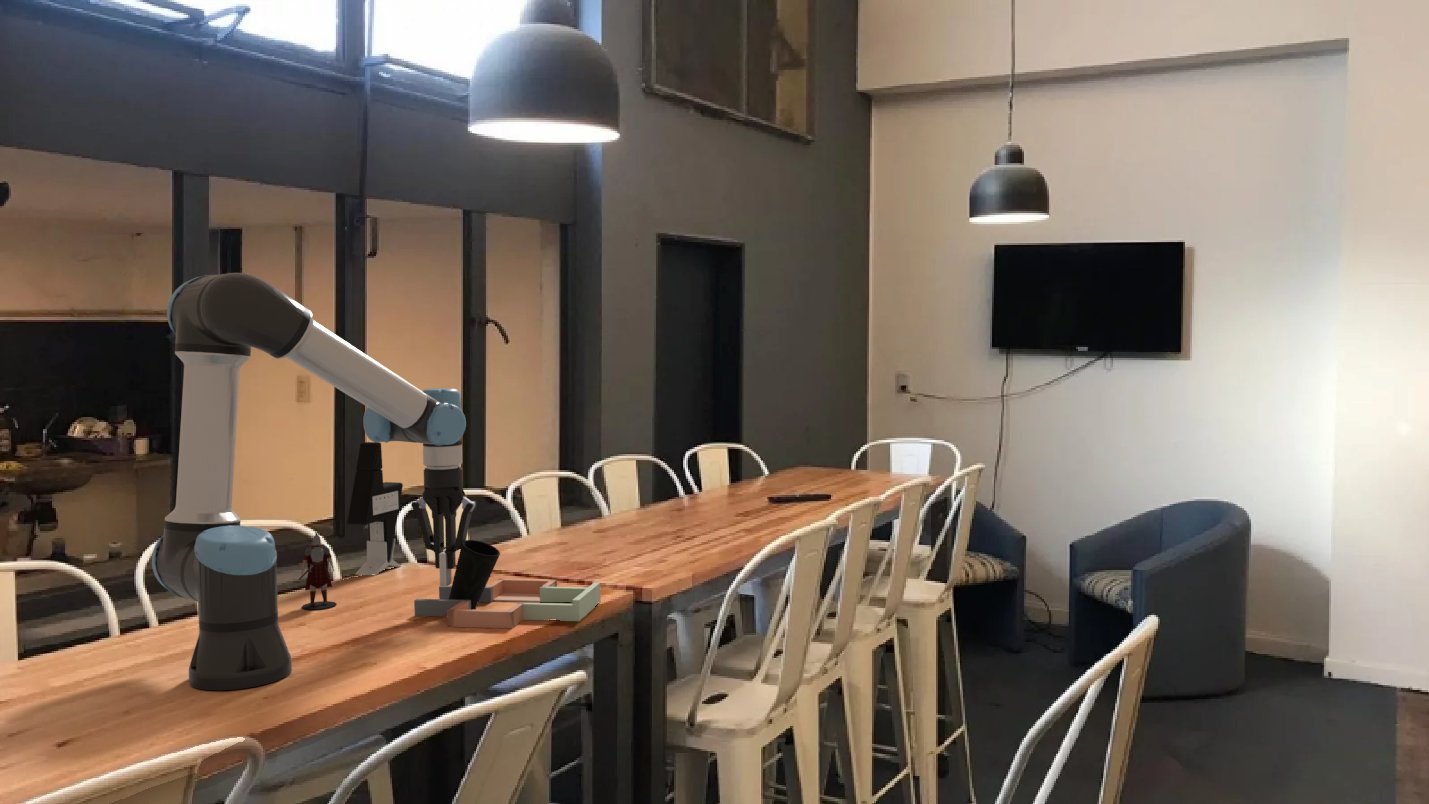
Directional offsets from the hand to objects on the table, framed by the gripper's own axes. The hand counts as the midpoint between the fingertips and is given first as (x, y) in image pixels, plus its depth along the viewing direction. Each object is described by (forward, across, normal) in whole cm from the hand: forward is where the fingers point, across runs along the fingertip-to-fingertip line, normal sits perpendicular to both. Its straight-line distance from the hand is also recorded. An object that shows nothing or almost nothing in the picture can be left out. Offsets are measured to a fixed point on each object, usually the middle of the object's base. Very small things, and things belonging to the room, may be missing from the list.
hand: (445, 584), depth 224 cm
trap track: (+5, -12, 0) cm, 13 cm away
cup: (+4, -3, 0) cm, 5 cm away
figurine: (+5, +27, +1) cm, 27 cm away
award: (+5, +30, -33) cm, 45 cm away
